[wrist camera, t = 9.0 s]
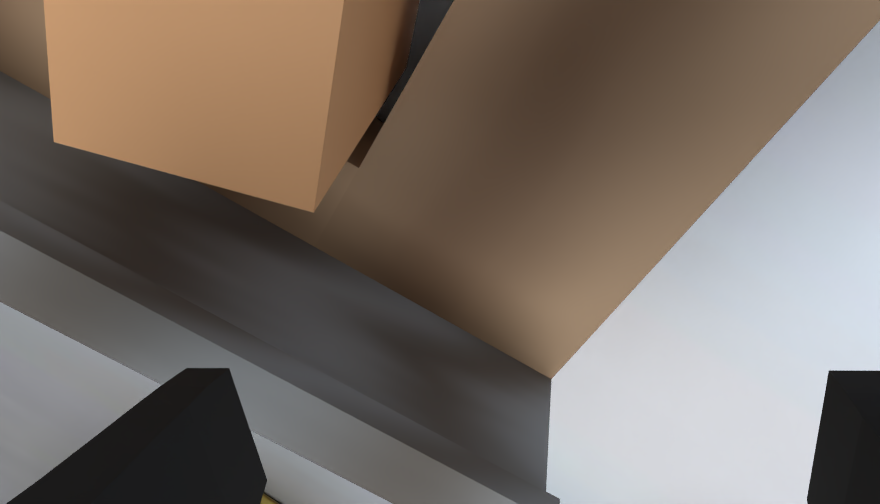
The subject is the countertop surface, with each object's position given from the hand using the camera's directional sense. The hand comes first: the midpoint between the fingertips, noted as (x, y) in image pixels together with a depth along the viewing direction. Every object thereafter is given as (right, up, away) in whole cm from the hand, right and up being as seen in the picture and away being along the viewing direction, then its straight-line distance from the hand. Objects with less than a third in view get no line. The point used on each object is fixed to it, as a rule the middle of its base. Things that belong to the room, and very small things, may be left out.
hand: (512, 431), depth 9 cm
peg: (-3, +9, +7) cm, 11 cm away
